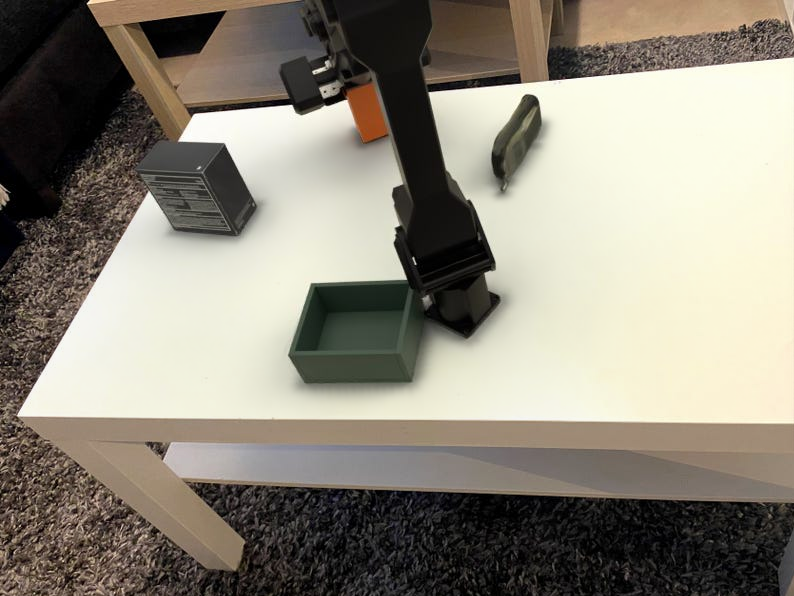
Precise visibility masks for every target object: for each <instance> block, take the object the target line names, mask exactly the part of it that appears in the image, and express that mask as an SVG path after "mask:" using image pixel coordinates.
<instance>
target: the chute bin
mask: <svg viewBox="0 0 794 596" xmlns="http://www.w3.org/2000/svg"><path fill="white" fill-rule="evenodd" d="M302 307H303V308H302V310H301V313H300V317H299V319H298V323H297V326H296V329H295V332H294V335H293V339H292V341H291V345H290V348H289V351H288V354H287V356H288V358H289V361H290V362H291V363H292V365H293V367H294V368H295V370H296V372H297V373H298V375H299V376H300V378H301V380H302V381H303V383H304V384H333V383H335V384H337V383H340V384H341V383H345V384H346V383H412V382H413V378H414V373H415V368H416V362H417V358H418V352H419V347H420V343H421V337H422V331H423V326H424V320H425V315H424V312H425V310H426V309H427V308H426V305H425V302H424V298H422V297H421V295H420V294H418V292H417V290H412V289H410V286H409V284H408V281H407V279H387V280H386V279H385V280H384V279H383V280H358V281H357V280H355V281H333V282H331V281H330V282H311V283H310V284H309V289H308V292H307V295H306V297H305V301H304V305H303V306H302Z"/></svg>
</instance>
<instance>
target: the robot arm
mask: <svg viewBox="0 0 794 596" xmlns="http://www.w3.org/2000/svg"><path fill="white" fill-rule="evenodd" d="M303 2H304V4H303V5H300V7H299V8H298V12H299V13H298V14H299V16H300V19H301V22H302V24H303V27H304V30H305V32H306V34H307V36H308V38H312V37H316V38H317V39H318V41H319V43H322V45H323V48H324V50H325V52H326V55H323V56H320V57H318V58H315V59H312V60H308V57H307V55H303V56H300V57H297V58H295V59H294V58H293V59H291V60H289V61H286V62H283V63H280V65H279V67H278V74H279V77H280V80H281V81H282V84H283V86H284V88H285V91H286V93H287V96H288V99H289V101H290V104H291V106H292V108H293V110H294V112H295V114H297V115H299V116H301V117H302V116H306V115H307V114H311V113H313V112H316V111H318V110H320V109H322V108H324V107H331V106H333V105H336V104H339V103H341V102H344V101H346V100H347V98H346V97H347V94H346V92H348V91H351V90H354V89H357V88H359V87H362V86H365V85H368V84H370V83H373V85H374V88H375V91H376V95H377V98H378V101H379V105H380V108H381V111H382V115H383V118H384V121H385V125H386V128H387V131H388V134H387V136H388V137H389V141H390V145H391V148H392V151H393V155H394V158H395V162H396V164H397V168H398V171H399V175H400V178H401V182H402V184H400V185H397V186H394V187H393V188H392V193H391V198H392V201H393V208H394V211H395V215H396V219H397V221H398V224H399V225H398V226H395V227H393V228H394V232H395V234H394V240H393V243H392V244H393V247H394V249H395V252H396V255H397V258H398V260H399V262H400V265H401V267H402V269H403V273H404V276H405V278H406V280H407V281H408V284H409V286H410V289H412V290H417V292H418V294H420V295H421V297H422V299H425V298H428V299H429V302H431V304H430V305H428V307H427V308H426V310H425V312H424V315H425V316H424V318H425V319H427V320H429V321H431V322H434V323H435V324H438V325H440V327H444V328H445V329H448V330H450V331H451V332H454V333H455V334H458V335H459V336H461V337H464V338H469V337H470V336H472V335H473V333H474V332H475V331H476V330H477V329H478V328H479V326H480V325H481V324H482V323H483V322H484V321H485V320H486V318H487V317H489V315H490V314H491V313H492V312H493V311H494V309H495V308H496V307H497V306H498V305H499V304H500V303H501V300H502V299H501V296H500V295H499V294H497V293H495V292H493V291H490V290H489V288H488V287H489V286H488V282H487V279H486V273H489V272H494V271H496V270H497V267H496V266H497V262H496V259H495V257H494V254H493V250H492V249H491V246H490V243H489V240H488V238H487V236H486V233H485V230H484V228H483V225H482V223H481V220H480V216H479V214H478V212H477V209H476V207H475V205H474V204H473V201H472V200H471V199H470V198H469V199H467V198H466V196H465V194H464V192H463V190H462V189H461V187H460V185H459V183H458V181H457V180H455V179H454V178H453V176H452V174H451V173H450V172H449V171H448V170H447V167H446V163H445V158H444V154H443V150H442V146H441V145H442V144H441V141H440V136H439V132H438V128H437V127H438V126H437V123H436V120H435V119H436V118H435V115H434V111H433V106H432V101H431V97H430V92H429V88H428V84H427V80H426V75H425V71H428V70H430V66H431V64H432V54H431V52H430V49H429V47H428V40H429V38H430V36H431V33H432V32H433V29H434V27H435V19H434V13H433V6H432V0H303ZM343 86H344V87H345V89H346V92H345V89H344V87H343Z"/></svg>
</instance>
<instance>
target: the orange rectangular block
mask: <svg viewBox="0 0 794 596" xmlns="http://www.w3.org/2000/svg"><path fill="white" fill-rule="evenodd" d="M343 87H344V86H343ZM344 89H345V87H344ZM345 92H346V89H345ZM346 94H347V97H346V100H347V103H348V106H349V110H350V112H351V115H352V118H353V121H354V124H355V127H356V129H357V131H358V133H359V136H360V137H361V139H362V142H363V143H364V144H365V143H368V142H371V141H373V140H376V139H378V138H381V137H384V136H386V135H387V136H388V131H387V128H386V125H385V121H384V118H383V115H382V111H381V108H380V105H379V101H378V98H377V95H376V91H375V88H374V85H373V83H370V84H368V85H365V86H362V87H359V88H357V89H354V90H351V91H348V92H346Z"/></svg>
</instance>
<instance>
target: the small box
mask: <svg viewBox="0 0 794 596" xmlns="http://www.w3.org/2000/svg"><path fill="white" fill-rule="evenodd" d="M134 171H135V173H136V175H138V177H139V178H140V179H141V181H142V182H143V184H144V185H145V187H146V188H147V190H148V191H149V193H150V195H151V196H152V197H153V199H154V200H155V201H154V202H156V204H157V205H158V206H159V208H160V210H161V212H162V213H163V215H164V216H165V217H166V219H167V221H168V222H169V224H170V226H171V227H172V229H173V230H174V231H176V232H177V231H178V232H191V233H203V234H216V235H227V236H238V235H239V234H240V233H241V231H242V229H243V228H244V226H245V224H246V223H247V221H249V219H250V217H251V216H252V214H253V213H254V211H255V210H256V208H257V206H258V204H257V203H256V201H255V199H254V197H253V195H252V193H251V191H250V189H249V188H248V185H247V184H246V181H245V180H244V178H243V176H242V174H241V173H240V170H239V168H238V166H237V164H236V162H235V161H234V158H233V157H232V155H231V153H230V151H229V149H228V148H227V145H226V143H225V142H206V141H201V142H200V141H178V140H177V141H175V140H158V141H157V142H156V143H155V144H154V145H153V147H152V148H151V149H150V150H149V151H148V153H146V154H145V156H144V157H143V158H142V159H141V160H140V161H139V163H138V164H137V165H136V167H134Z"/></svg>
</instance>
